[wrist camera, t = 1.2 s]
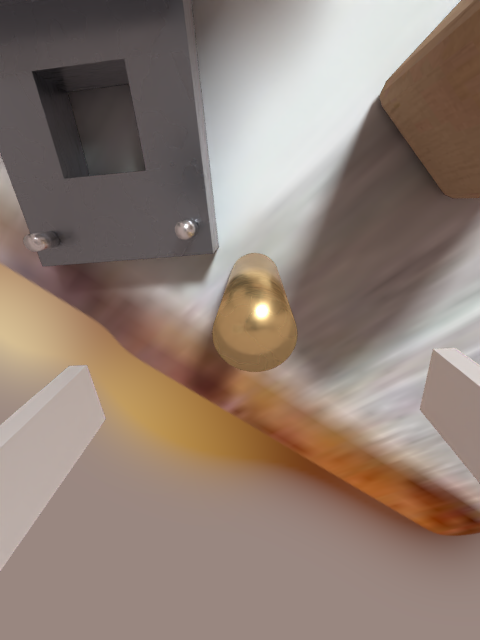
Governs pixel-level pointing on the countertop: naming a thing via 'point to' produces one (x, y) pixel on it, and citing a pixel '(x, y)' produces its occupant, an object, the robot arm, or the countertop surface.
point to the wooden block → (443, 101)
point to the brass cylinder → (254, 317)
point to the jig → (63, 139)
